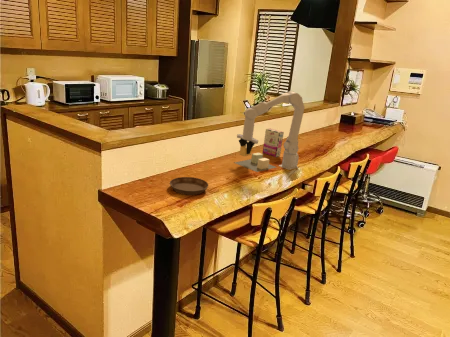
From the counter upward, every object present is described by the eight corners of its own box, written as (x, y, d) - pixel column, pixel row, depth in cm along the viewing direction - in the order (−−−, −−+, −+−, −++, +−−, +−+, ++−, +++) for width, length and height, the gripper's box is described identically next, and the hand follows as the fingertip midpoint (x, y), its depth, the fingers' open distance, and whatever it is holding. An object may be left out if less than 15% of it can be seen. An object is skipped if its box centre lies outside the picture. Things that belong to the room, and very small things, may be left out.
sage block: (257, 160, 224) (258, 152, 222) (261, 162, 222) (263, 154, 220) (250, 161, 220) (252, 153, 218) (255, 163, 218) (256, 155, 216)
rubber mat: (253, 159, 227) (253, 158, 227) (276, 167, 216) (277, 167, 215) (233, 163, 215) (233, 162, 215) (256, 172, 203) (257, 172, 203)
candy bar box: (280, 156, 240) (284, 131, 235) (275, 157, 236) (279, 132, 231) (266, 152, 247) (270, 128, 242) (262, 153, 243) (265, 128, 238)
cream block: (263, 166, 215) (264, 157, 213) (268, 167, 212) (269, 159, 211) (256, 167, 211) (258, 159, 209) (261, 169, 208) (262, 161, 207)
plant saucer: (161, 188, 168) (161, 182, 167) (186, 179, 182) (186, 173, 181) (191, 200, 159) (191, 193, 158) (215, 190, 173) (215, 184, 172)
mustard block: (246, 153, 216) (247, 145, 214) (250, 155, 214) (252, 146, 212) (239, 154, 212) (240, 146, 210) (243, 156, 210) (245, 147, 208)
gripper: (234, 127, 210) (231, 150, 214) (253, 133, 201) (250, 157, 205) (242, 126, 215) (239, 148, 219) (261, 132, 206) (258, 155, 210)
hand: (245, 152), depth 212 cm, fingers closed on mustard block, 3 cm apart
